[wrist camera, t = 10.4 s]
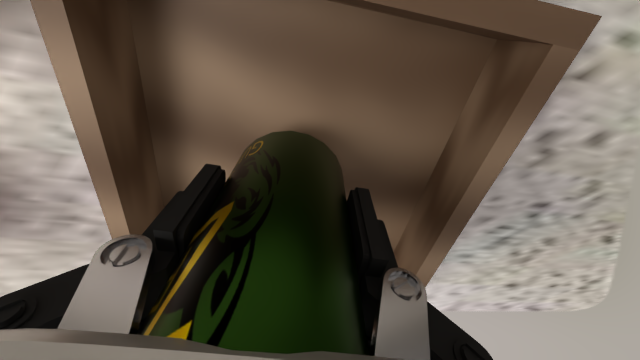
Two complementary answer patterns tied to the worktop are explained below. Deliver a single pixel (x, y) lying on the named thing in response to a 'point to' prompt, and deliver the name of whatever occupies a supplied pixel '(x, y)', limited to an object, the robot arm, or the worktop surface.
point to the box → (310, 96)
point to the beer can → (270, 259)
